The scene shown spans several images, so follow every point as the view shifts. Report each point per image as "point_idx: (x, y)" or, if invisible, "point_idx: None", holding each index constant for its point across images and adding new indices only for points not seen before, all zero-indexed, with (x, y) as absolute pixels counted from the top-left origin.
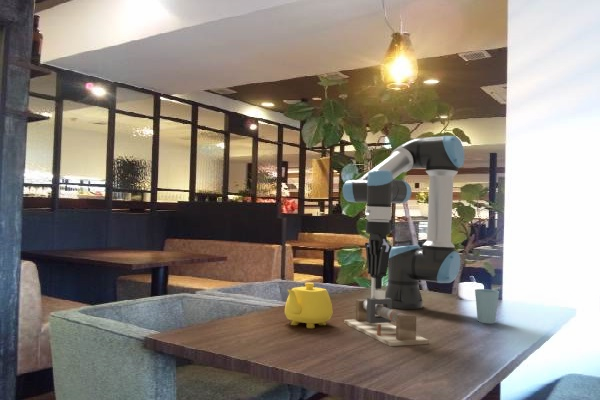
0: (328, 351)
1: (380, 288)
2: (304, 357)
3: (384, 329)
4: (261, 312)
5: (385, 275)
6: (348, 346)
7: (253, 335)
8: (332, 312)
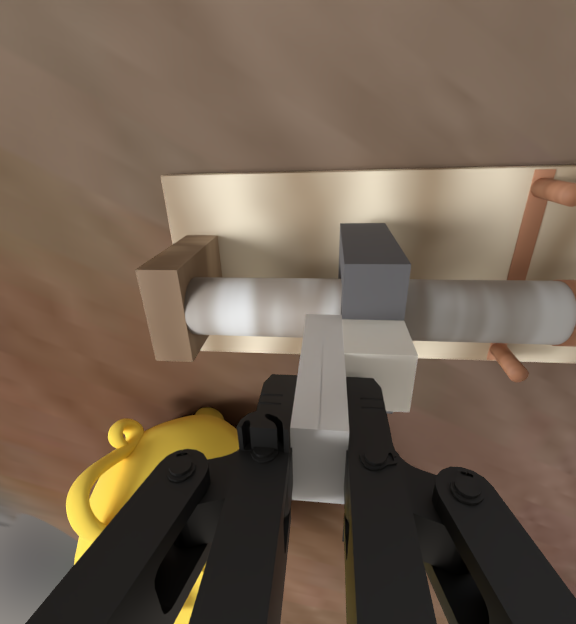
0: (554, 528)
1: (372, 384)
2: (572, 582)
3: (410, 272)
4: (32, 503)
5: (483, 486)
6: (534, 469)
7: (324, 591)
8: (217, 433)
